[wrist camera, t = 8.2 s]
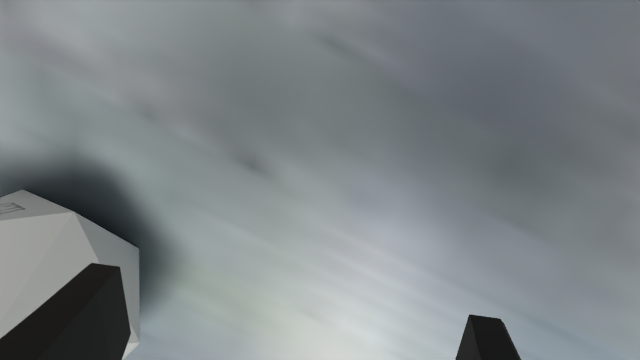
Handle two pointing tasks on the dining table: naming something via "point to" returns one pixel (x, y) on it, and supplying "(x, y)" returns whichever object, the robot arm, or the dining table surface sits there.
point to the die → (56, 257)
